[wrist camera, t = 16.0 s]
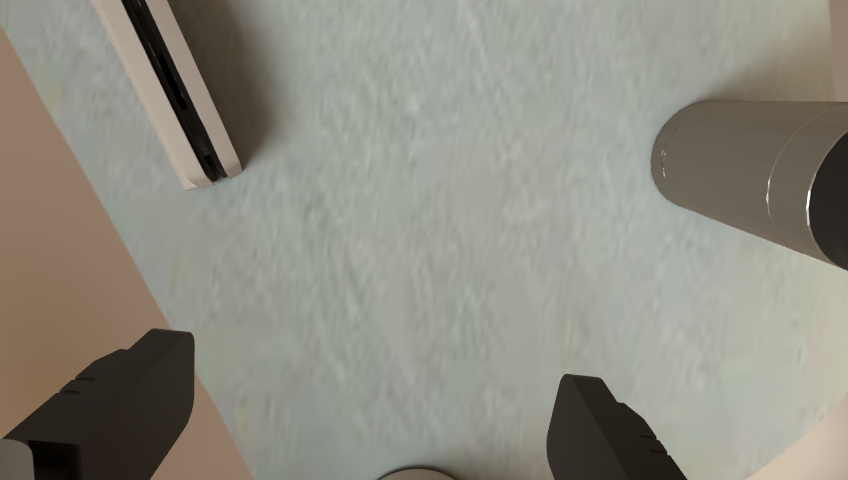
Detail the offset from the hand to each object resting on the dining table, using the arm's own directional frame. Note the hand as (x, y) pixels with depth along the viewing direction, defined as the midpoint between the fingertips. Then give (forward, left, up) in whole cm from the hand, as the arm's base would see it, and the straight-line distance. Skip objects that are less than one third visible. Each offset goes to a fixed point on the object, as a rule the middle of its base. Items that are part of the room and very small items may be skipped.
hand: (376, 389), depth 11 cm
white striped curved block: (+17, -5, -33) cm, 38 cm away
